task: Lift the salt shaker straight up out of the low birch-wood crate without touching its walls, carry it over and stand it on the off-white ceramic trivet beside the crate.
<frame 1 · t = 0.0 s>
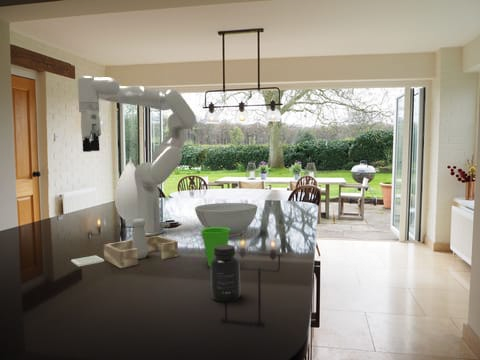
hand: (91, 151, 150), 37 cm above the kitchen island, tool pointing down, fingers open, 9 cm apart
supplement bottle: (226, 298, 88), on the kitchen island
cup: (216, 265, 115), on the kitchen island
trivet: (87, 261, 122), on the kitchen island
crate: (141, 257, 126), on the kitchen island
decorative bowl: (227, 234, 161), on the kitchen island
lamp: (132, 226, 189), on the kitchen island
salt shaker: (140, 257, 127), resting in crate
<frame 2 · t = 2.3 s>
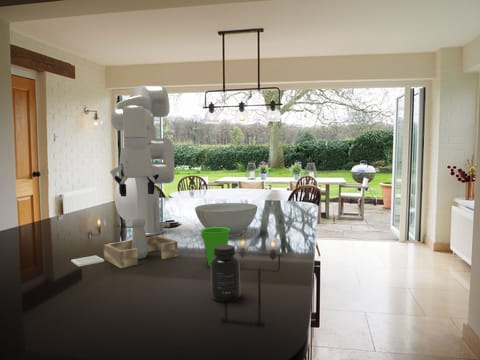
hand: (137, 195, 125), 21 cm above the kitchen island, tool pointing down, fingers open, 9 cm apart
nothing on the kitchen island moved.
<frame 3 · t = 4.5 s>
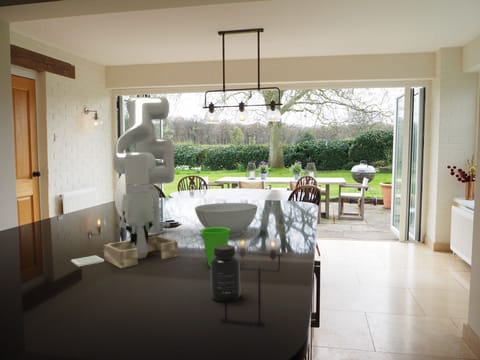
hand: (139, 243, 126), 5 cm above the kitchen island, tool pointing down, fingers closed on salt shaker, 3 cm apart
salt shaker: (140, 257, 127), resting in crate, touching gripper
everything else where it was.
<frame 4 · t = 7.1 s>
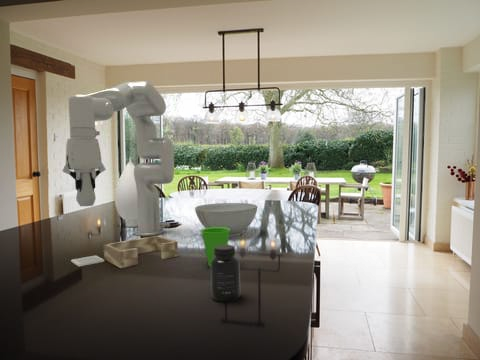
hand: (85, 191, 121), 23 cm above the kitchen island, tool pointing down, fingers closed on salt shaker, 3 cm apart
salt shaker: (86, 206, 121), point 18 cm above the kitchen island, touching gripper
everything else where it was.
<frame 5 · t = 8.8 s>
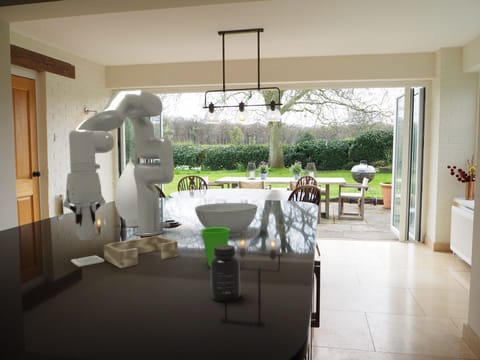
hand: (85, 224, 122), 12 cm above the kitchen island, tool pointing down, fingers closed on salt shaker, 3 cm apart
salt shaker: (86, 239, 122), point 7 cm above the kitchen island, touching gripper
everything else where it was.
when the fingers open (6 cm above the kitchen island, at t = 10.0 s): salt shaker stays where it is, resting on trivet.
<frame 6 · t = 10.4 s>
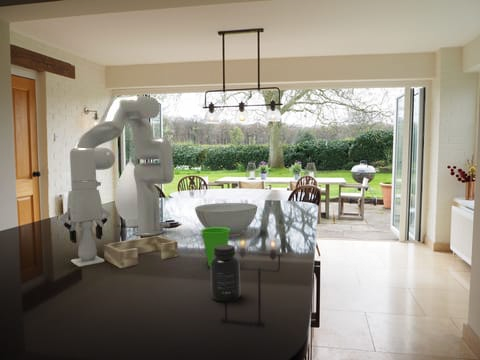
hand: (86, 240, 122), 7 cm above the kitchen island, tool pointing down, fingers open, 7 cm apart
salt shaker: (88, 260, 122), resting on trivet
everything else where it was.
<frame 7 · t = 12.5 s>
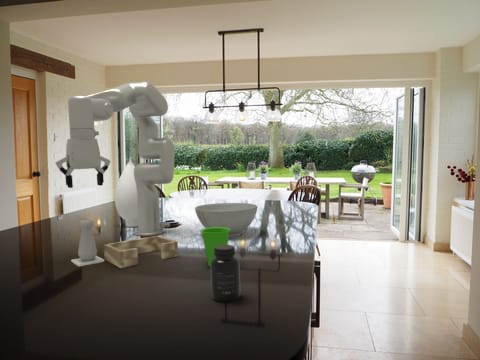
hand: (85, 186, 125), 24 cm above the kitchen island, tool pointing down, fingers open, 9 cm apart
nothing on the kitchen island moved.
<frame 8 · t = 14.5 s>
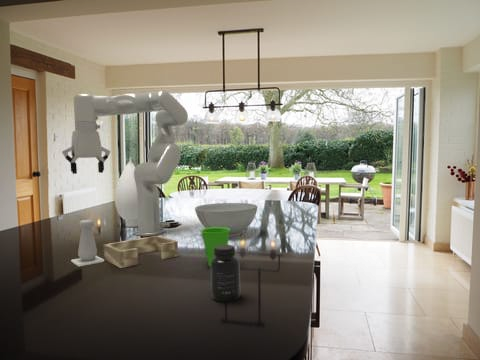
hand: (88, 173, 142), 28 cm above the kitchen island, tool pointing down, fingers open, 9 cm apart
nothing on the kitchen island moved.
at the end: salt shaker inside the target area on the trivet (0.1 cm from its centre), point 0.5 cm above the trivet's base; salt shaker tilted 0°; the gripper is holding nothing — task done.
